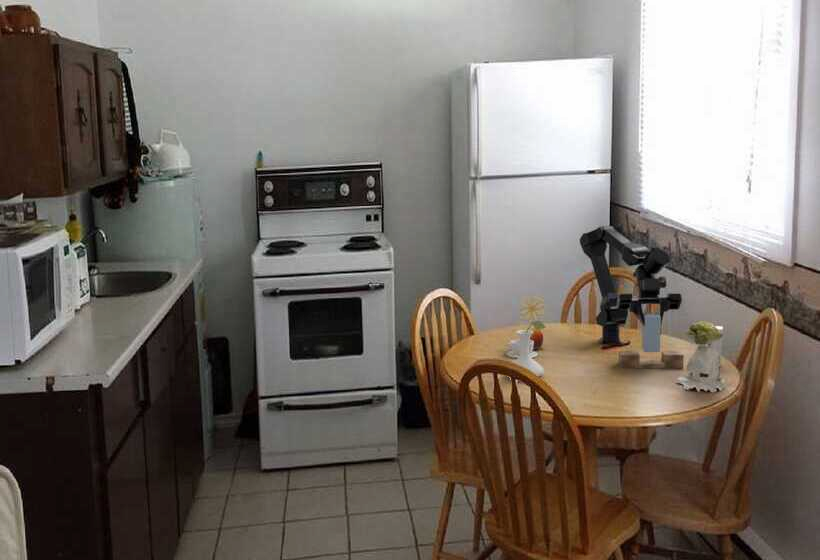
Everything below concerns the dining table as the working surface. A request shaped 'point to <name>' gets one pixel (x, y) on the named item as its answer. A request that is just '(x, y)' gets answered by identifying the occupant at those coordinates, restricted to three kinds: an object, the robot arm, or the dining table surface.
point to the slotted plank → (651, 360)
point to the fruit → (536, 338)
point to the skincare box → (718, 344)
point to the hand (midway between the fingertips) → (652, 325)
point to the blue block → (651, 332)
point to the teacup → (517, 348)
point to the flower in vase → (530, 311)
